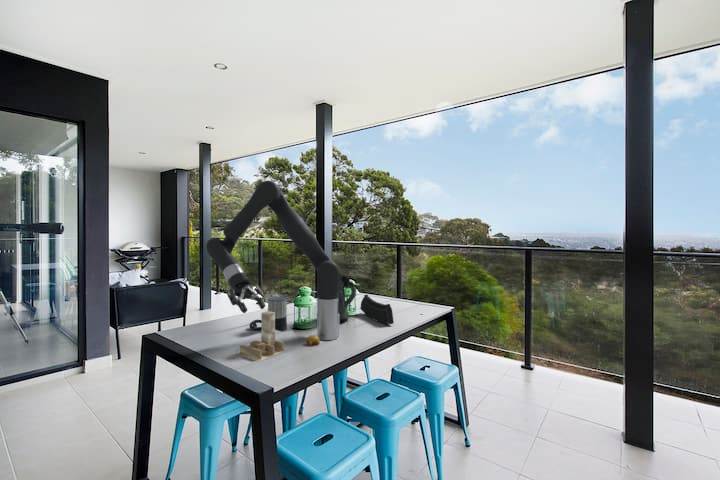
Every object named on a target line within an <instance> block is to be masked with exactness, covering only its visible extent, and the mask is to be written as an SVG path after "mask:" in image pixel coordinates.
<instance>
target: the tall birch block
mask: <svg viewBox="0 0 720 480" xmlns="http://www.w3.org/2000/svg"><path fill="white" fill-rule="evenodd" d="M260 320H261V323H260V325H261V326H260V327H261V330H260V332H261V334H260V335H261V339H260V340H261V341H260V342H263V343H266V344H269V345H273V346H274V350H275V341H276V330H275V312H270V311H268V310H267V311H261V319H260Z"/></svg>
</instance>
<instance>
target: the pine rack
mask: <svg viewBox="0 0 720 480" xmlns="http://www.w3.org/2000/svg"><path fill="white" fill-rule="evenodd" d="M254 341H256V340H252V342H254ZM265 344H266V343H265ZM249 346H250V345H244V344H243V343H242V344H239V352H237V353H236V355H238V356H240V357H243V358H246V359H249V360H253V361H256V362H259V361H262V360H264V359H267V358H269V357H270V358H271V357H273V356H275V355H278V354H280V353H283V352H286V351H287V349H286V348H285V343H284V342H283V341H278V340H275V350H274V346H273V345H269V344H266V347H265V350H267V354H265V355H262V350H259V349H256V348H252V347H249Z"/></svg>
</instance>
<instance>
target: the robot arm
mask: <svg viewBox="0 0 720 480" xmlns="http://www.w3.org/2000/svg"><path fill="white" fill-rule="evenodd" d="M266 206H268V207H269V208H270V209H271V210H272V211H273V213H274V215H275V216H276V217H277V218H278V221H279V222H280V225H281V227H282V228H283V230H284V232H285V234H286V235H287V236H288V238H289V239H290V240H291V241H292V242H293V244H294V245H295V247H296V248H297V249H298V250H299V251H300V252H302V254H303V255H304V256H306V257H307V258H308V260H309V261H310V262H311V264H312V265H313V267H314V269H315V270H316V278H317V279H316V282H317V283H316V291H317V292H316V296H317V297H316V304H317V305H316V336H318V337H319V340H321V341H333V340H336V339H338V338H339V336H340V324H339V319H340V315H339V314H338V299H339V272H340V269H339V266H338V265H337V263H336V262H334V260H333V259H332V258H331V257H330V256H329V255H328V254H327V253H326V252H325V250H324V249H323V248H322V247H321V245H320V243H319V241H318V240H317V238H316V236H315V234H314V233H313V232H312V230H311V228H310V227H309V225H307V223H306V221H304V219H303V218H302V217H301V216H300V215H299V214H298V212H297V211H296V210H295V209H294V208H293V207H292V206H291V205H290V203H289V202H288V200H287V198H286V197H285V195H284V193H283V191H282V190H281V188H280V186H279V185H278V184H276V183H275V182H273V181H272V180H264V181H262V182H260V183H259V184H258V186H257V187H256V189H255V190H254V192H253V194H252V195H251V197H250V198H249V200H248V201H247V202H246V204H245V205H244V206H243V208H242V209H241V210H240V211H239V212H238V213H237V214H236V216H235V217H233V218H232V220H231V221H230V222H229V223H228V224H227V225H226V226H225V228H224V229H223V231H222V232H223V234H224V238H223V239H220V238H218V237H211V238H210V239H208V240H207V242H206V245H205V248H206V252H207V253H208V255H209V257H211V259H212V260H213V261H214V262H215V263H216V264H217V266H218V267H219V269H220V271H221V272H222V274H223V277H224V278H225V281H226V282H227V284H228V286H229V288H230V289H229V290H228V292H227V293H226V295H227V297H228V299H229V301H230V303H231V305H232V306H235V305H236V306H237V307H238V308H239V310H240V311H241V312H242V313H243V314H245V313H247V311H248V307H247V306H246V304H245V303H244V301H243V300H247V299H248V300H249V299H250V300H252V301H253V300H254V301H255V302H256V303H257V305H258V307H259V308H260V309H261V310H264V309H265V308H266V303H265V302H264V300H263V299H264V298H265V293H264V292H263V290H262V289H261V288H260V286H259V285H258V284H256V285H255V286H252V285H251V282H250V279H249V277H248V276H247V274H246V272H245V271H244V270H243V268H242V267H241V266H240V264H239V262H238V260H237V259H236V257H235V256H234V255H232V254H231V253H232V251H233V250H234V248H235V246H236V244H237V242H238V240H239V239H240V238H241V237H242V235H243V234H244V233H245V232H246V231H247V230H248V229H249V228H250V226H251V224H252V223H253V222H254V220H255V219H256V217H257V216H258V215H259V213H260V212H261V211H263V209H264V208H265V207H266Z"/></svg>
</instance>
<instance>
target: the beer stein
mask: <svg viewBox="0 0 720 480" xmlns="http://www.w3.org/2000/svg"><path fill="white" fill-rule="evenodd" d="M345 288H350V291H351V293H350V296H349V297H348V298H347V299H346V292H345ZM356 295H357V286H356V284H355V283H354V282H353V281H350V277H349V276H347V275H343V274H341V272H340V271H339V299H338V314H339V315H340V319H339V325H343V323H344V324H346V323H347V322H348V321H349V311H348V308H347V307H348V306H349V305H350V304H351V303H352V302H353V300H354V299H355V297H356ZM345 322H346V323H345Z"/></svg>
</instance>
